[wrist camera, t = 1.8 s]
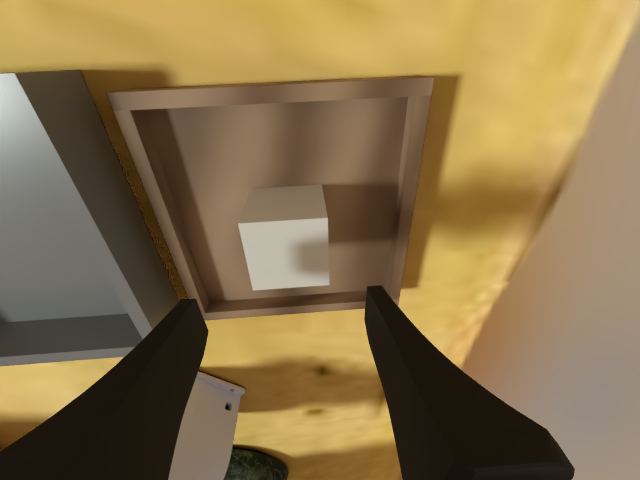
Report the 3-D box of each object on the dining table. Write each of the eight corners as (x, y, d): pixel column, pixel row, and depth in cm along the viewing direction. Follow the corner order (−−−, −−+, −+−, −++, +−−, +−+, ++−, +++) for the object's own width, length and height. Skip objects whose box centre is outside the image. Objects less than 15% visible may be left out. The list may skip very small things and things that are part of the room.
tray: (420, 75, 16) (434, 77, 14) (391, 289, 24) (397, 306, 23) (127, 89, 15) (106, 93, 14) (204, 302, 24) (197, 321, 22)
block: (321, 184, 18) (327, 217, 14) (323, 243, 20) (329, 285, 17) (250, 188, 18) (237, 223, 14) (261, 247, 20) (252, 290, 16)
